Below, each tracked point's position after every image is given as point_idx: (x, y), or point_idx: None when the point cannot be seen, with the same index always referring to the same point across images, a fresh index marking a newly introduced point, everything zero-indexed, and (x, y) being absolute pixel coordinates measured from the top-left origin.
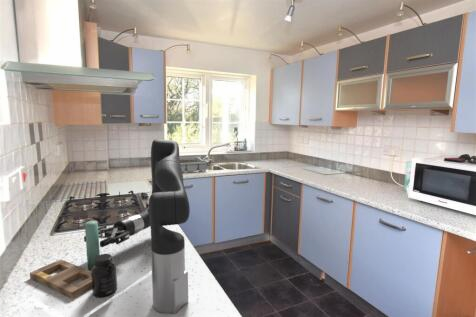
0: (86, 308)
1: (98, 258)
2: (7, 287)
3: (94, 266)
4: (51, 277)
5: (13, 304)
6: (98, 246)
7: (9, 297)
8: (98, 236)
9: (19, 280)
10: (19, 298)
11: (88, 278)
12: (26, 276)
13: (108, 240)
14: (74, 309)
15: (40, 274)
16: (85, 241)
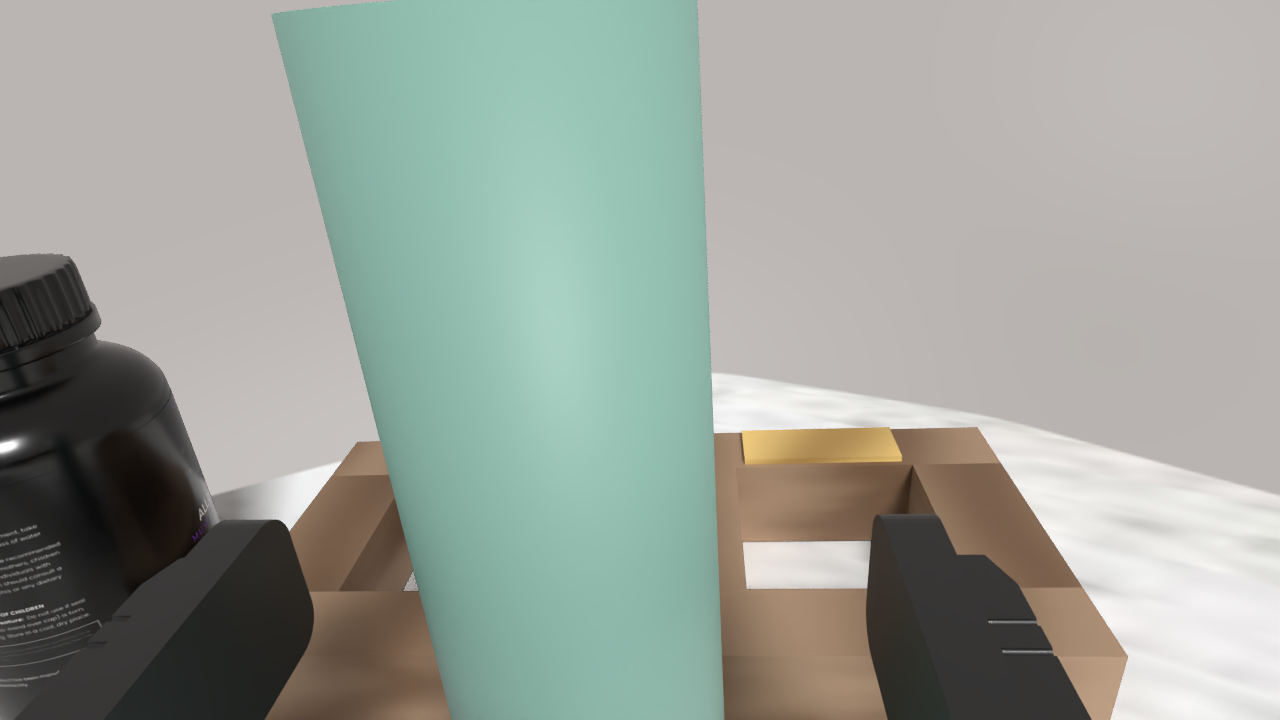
0: (225, 513)
1: (15, 267)
2: (993, 424)
3: (114, 348)
4: (717, 461)
5: (728, 393)
6: (448, 705)
7: (832, 402)
8: (407, 520)
9: (1058, 476)
10: (764, 416)
11: (341, 568)
12: (1105, 515)
13: (70, 670)
14: (310, 484)
15: (848, 439)
16: (873, 614)
